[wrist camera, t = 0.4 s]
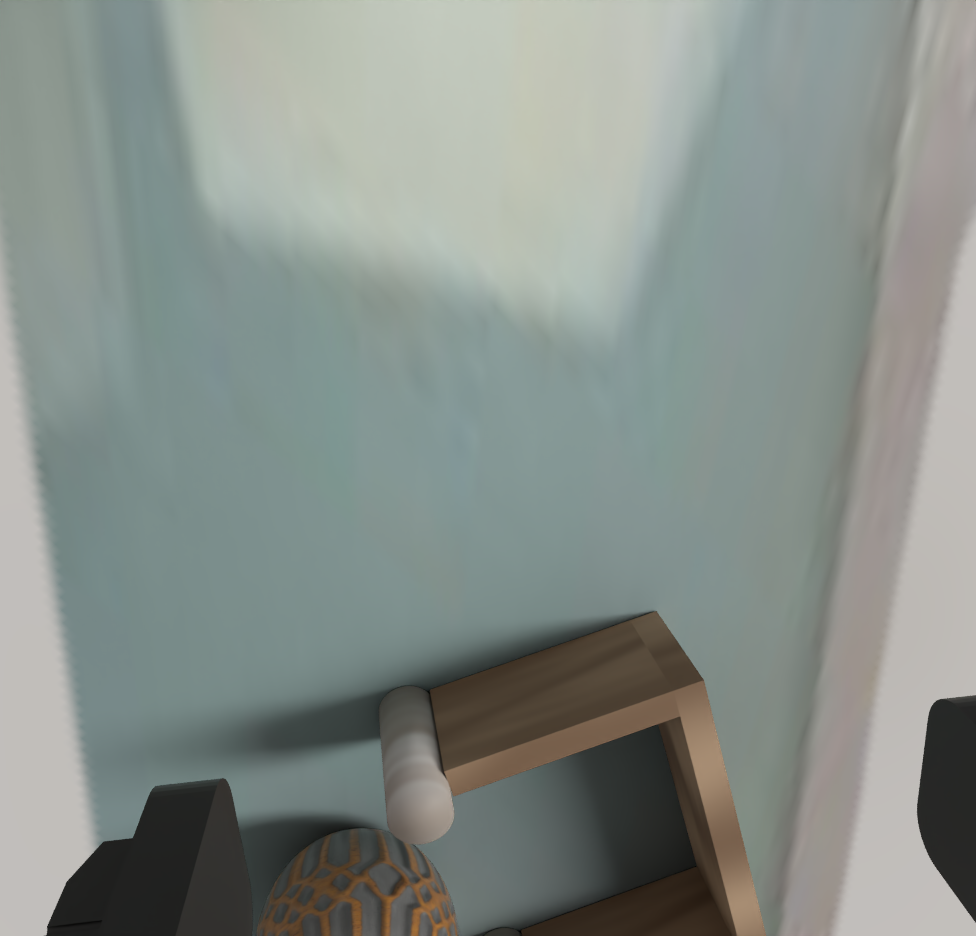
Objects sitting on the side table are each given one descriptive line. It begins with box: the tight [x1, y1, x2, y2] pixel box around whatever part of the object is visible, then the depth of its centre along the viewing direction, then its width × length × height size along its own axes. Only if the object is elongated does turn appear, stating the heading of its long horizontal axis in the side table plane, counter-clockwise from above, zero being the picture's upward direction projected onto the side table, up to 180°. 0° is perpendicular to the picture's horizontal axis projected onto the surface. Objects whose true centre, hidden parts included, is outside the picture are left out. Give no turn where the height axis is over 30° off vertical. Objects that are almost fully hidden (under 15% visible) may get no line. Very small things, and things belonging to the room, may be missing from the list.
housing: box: [379, 611, 766, 936], centre depth 32 cm, size 14×10×6 cm
